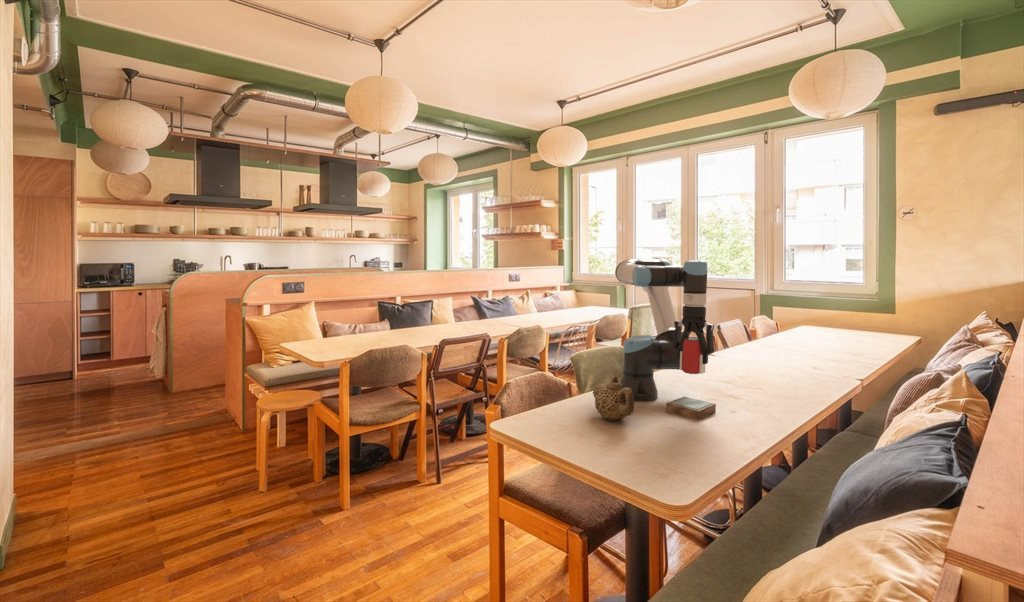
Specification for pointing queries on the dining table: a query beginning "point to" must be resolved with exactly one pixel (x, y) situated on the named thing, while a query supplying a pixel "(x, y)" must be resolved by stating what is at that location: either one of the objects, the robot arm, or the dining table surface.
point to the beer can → (691, 355)
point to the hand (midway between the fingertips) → (692, 370)
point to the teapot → (613, 400)
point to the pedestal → (691, 407)
